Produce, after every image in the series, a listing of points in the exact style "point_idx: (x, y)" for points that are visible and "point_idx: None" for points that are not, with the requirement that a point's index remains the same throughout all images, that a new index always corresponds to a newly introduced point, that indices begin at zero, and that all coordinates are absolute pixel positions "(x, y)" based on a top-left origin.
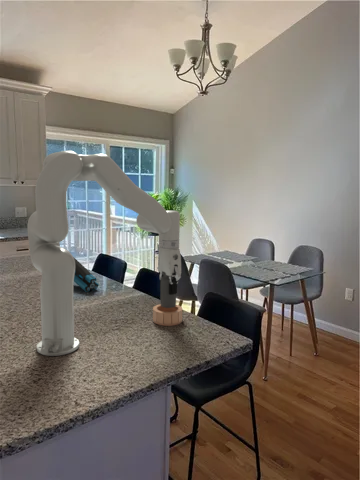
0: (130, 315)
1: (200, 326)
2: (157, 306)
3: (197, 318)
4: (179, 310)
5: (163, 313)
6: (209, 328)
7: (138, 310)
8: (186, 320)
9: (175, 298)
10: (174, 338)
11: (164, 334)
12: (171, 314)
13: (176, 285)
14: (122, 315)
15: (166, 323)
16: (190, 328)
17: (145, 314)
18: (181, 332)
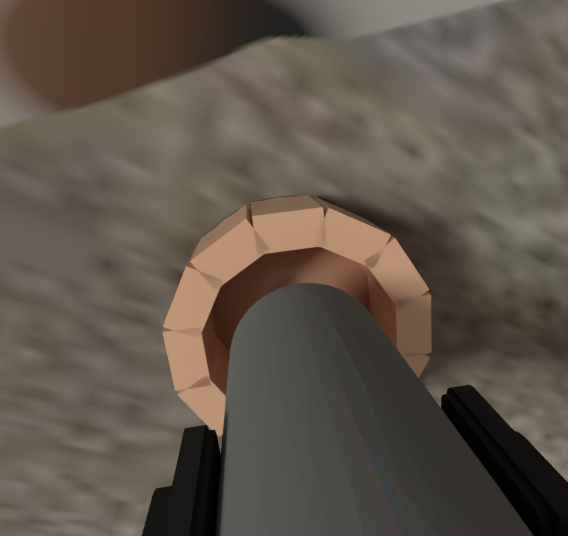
0: (110, 485)
1: (493, 125)
2: (222, 405)
3: (340, 56)
4: (397, 269)
5: None
6: (558, 78)
7: (16, 419)
8: (343, 168)
9: (389, 339)
10: (559, 363)
11: (484, 393)
12: (426, 353)
13: (551, 483)
14: (96, 525)
15: None
16: (487, 212)
17: (118, 398)
18: (511, 295)
